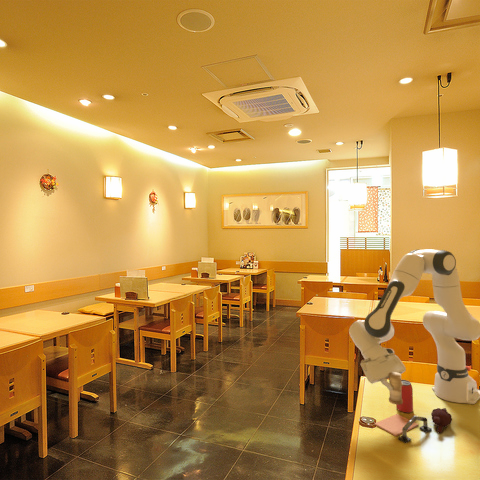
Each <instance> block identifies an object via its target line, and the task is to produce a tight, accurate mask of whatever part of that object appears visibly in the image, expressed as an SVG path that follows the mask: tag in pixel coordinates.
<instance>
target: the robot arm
mask: <svg viewBox="0 0 480 480" xmlns="http://www.w3.org/2000/svg"><path fill="white" fill-rule="evenodd" d="M456 266H457V260H456V257H455V255H454V254H453V253H452V252H451V251H448V250H444V249H441V250H440V249H433V248H432V249H431V248H429V249H414V250H411V251H410V252H408V253H406V254H404V255H403V256H402V257H401V259H399V262H398V263H397V265H396V266H395V268H394V270H393V272H392V274H391V276H390V280H389V282H388V284H387V288H386V289H385V291H384V292H383V294H382V296H381V298H380V300H379V301H378V304H377V305H376V307H375V308H374V309H373V310H372V311H371V312H370V313H368V314H367V315H366V316H365V319H364V320H363V319H362V320H361V319H358V320H356V321H354V322H352V324H351V325H350V326H349V329H348V333H349V336H350V339H352V342H353V343H354V345H355V346H356V347H357V348H358V349H359V350H360V352H361V355H362V357H363V359H362V360H361V361H360V366H361V368H362V371H363V373H364V375H365V377H366V380H367V381H368V383H370V384H371V385H373V384H375V383H378V382H380V383H381V384H382V385H383V386H385V387H386V388H387V389H388V391H389V392H390V391H391V390H393V389H394V387H393V385H392V384H390V383H389V381H388V379H389V373H390V372H397V373H400V374H401V375H402V374H403V373H405V372H406V366H405V364H404V363H403V361H402V360H401V359H400V358H399V356H398V355H396V354H395V350H394V349H393V348H388V347H383V346H382V345H381V344H383V343H385V342H388V341H389V340H391V339H392V338H393V337H394V335H395V326H394V325H393V323H392V321H391V318H392V314H393V312H394V310H395V309H396V307H397V305H398V303H399V301H400V300H401V299H402V298H404V297H408V296H411V295H412V294H413V293H414V292H415V290H416V289H417V287H418V286H419V283H420V280H421V278H422V276H423V274H428V275H429V274H431V276H432V277H431V278H432V279H431V282H432V283H431V284H432V288H433V289H432V291H433V299H434V301H435V303H436V304H437V305H438V306H440V307H441V308H442V309H443V310H428V311H426V312H425V313H424V314H423V317H422V324H423V326H424V328H425V330H426V331H428V332H429V334H430V335H431V337H432V338H433V341H434V343H435V346H436V352H437V364H436V365H437V366H436V371H437V372H436V373H435V374H434V376H435V377H434V386H432V387H431V389H432V391H434V393H435V395H436V396H437V397H438V398H440V399H442V400H445V401H447V402H452V403H458V404H469V405H475V404H476V403H477V402H478V400H480V389H478V385H477V381H476V380H475V379H474V378H473V377H472V376H470V375H469V372H470V371H471V369H472V368H471V366H468V365H466V364H467V363H466V351H465V349H464V348H463V347H462V346H461V345H460V344H459V343H458V342H457V340H456V339H458V340H462V341H477V340H478V339H479V338H480V321H479V320H478V319H477V318H475V317H474V316H473V315H472V314H471V312H469V310H468V308H467V307H466V305H465V303H464V301H463V296H462V295H463V294H462V289H461V283H460V282H461V281H460V275H459V272H458V269H457V267H456ZM402 386H403V383H402V382H401V387H402Z"/></svg>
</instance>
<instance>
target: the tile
mask: <svg viewBox="0 0 480 480" xmlns="http://www.w3.org/2000/svg"><path fill="white" fill-rule="evenodd" d="M409 420H410V419H408V418H406V417H404V416H403V415H400V414H398V413H396V414H394V415H391V416H389V417H386V418H384V419H381V420H379V421H377V422H375V423H374V426H376V427H378V428H380V429H382V430H383V431H385V432H388V433H389V434H391V435H393V436H394V437H399V436H401V435H402V429H403V427H404V426H405V425H406V424H407V423H408V421H409ZM418 426H419V427H420V425H419V423H417V422H416V421H415V422H414V423H413V424H412V425H411V426H410V427H409V428H408V429H407V432H408V431H410V430H413V429H414V428H417V427H418Z"/></svg>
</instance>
